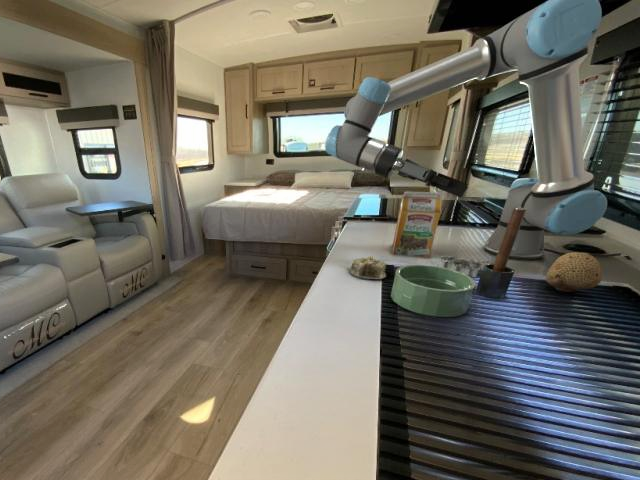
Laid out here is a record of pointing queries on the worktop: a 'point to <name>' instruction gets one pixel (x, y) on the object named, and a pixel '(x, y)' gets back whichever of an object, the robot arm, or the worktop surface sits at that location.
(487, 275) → the utensil cup
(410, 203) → the yellow food carton
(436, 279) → the bowl
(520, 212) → the stick
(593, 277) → the natural sponge
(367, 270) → the cake
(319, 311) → the worktop surface
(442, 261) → the egg carton
